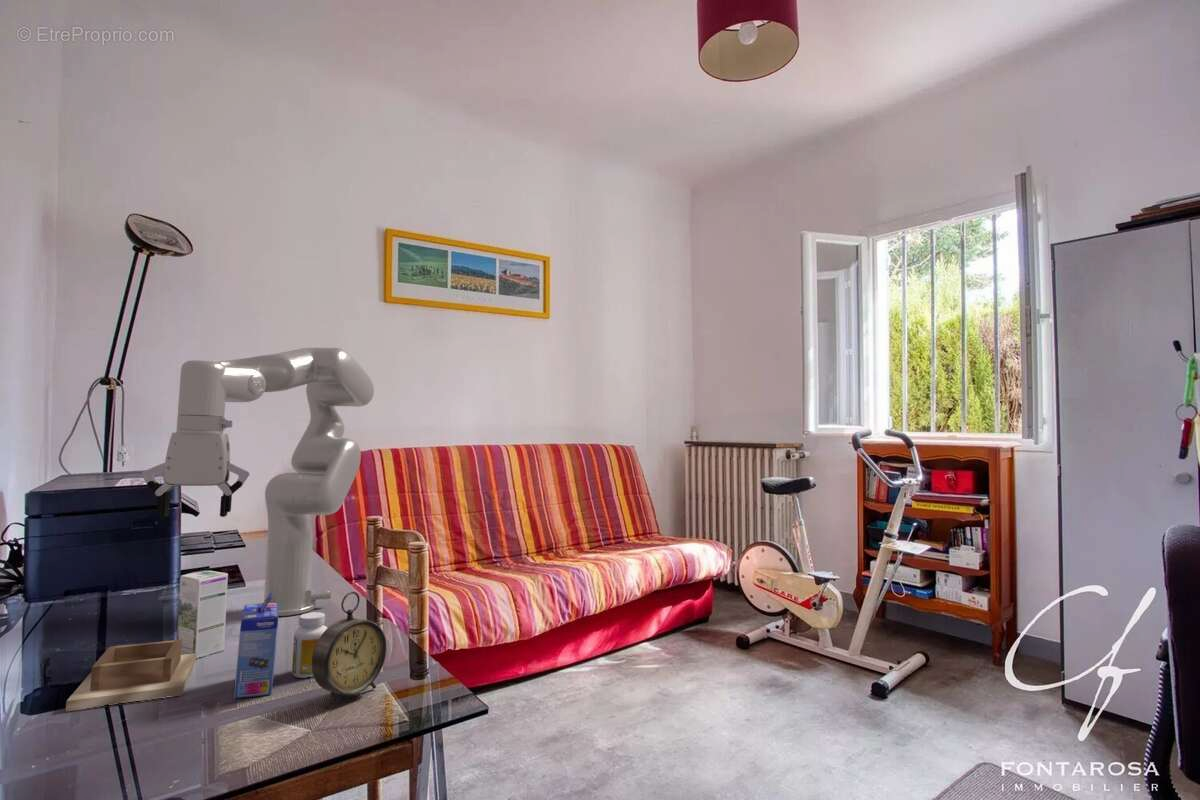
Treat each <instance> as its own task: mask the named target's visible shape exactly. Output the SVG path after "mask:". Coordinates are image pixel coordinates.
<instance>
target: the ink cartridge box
mask: <svg viewBox="0 0 1200 800" xmlns="http://www.w3.org/2000/svg"><path fill="white" fill-rule="evenodd" d="M271 599H272V592H271V593H270V594H269V596H268V597H267V598H266V600H265V602H264V601H263V602H264V603H263V602H261V603H250V604H244V607H243V610H242V615H241V620H240V627H239V628H240V629H239V636H238V637H239V639H238V649H237V658H236V659H237V661H236V671H235V682H234V692H233V699H244V698H243V697H245V698H252V697H254V698H255V697H263V696H270V695H272V691H273V682H274V676H275V675H274V674H275V665H276V653H277V641H278V629H279V616H278V603H269V602H270V600H271Z"/></svg>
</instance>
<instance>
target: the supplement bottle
mask: <svg viewBox="0 0 1200 800" xmlns="http://www.w3.org/2000/svg"><path fill="white" fill-rule="evenodd" d="M325 619H326V614H325V613H323V612H319V611H317V612H315V611H314V612H312V611H311V612H305V613H301V615H300V616H299V620H298V625H299V627H298V628H297V629H296V630H295V631H294V635H293V645H292V646H293V649H292V666H291V670H292V671H291V673H292V676H293V677H295V678H300V679H308V678H307V677H310V678H314V676H313V672H312V656H313V652H314V649H315V646H316V644H317V642H318V640H319V638H320V637H321V635H322V634H323V633H324V631H325V630H326V629H327V628H328V626H326V625H324V624H325V621H326V620H325Z"/></svg>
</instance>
